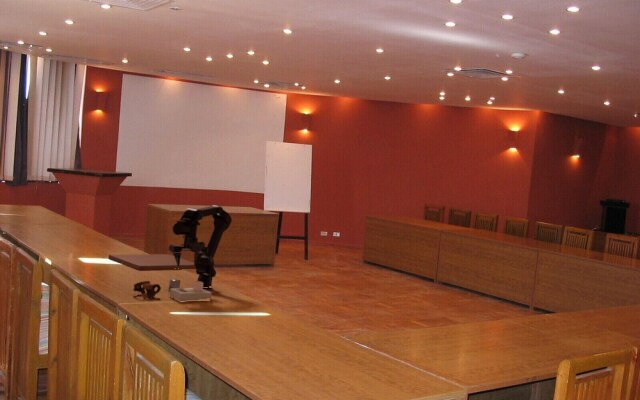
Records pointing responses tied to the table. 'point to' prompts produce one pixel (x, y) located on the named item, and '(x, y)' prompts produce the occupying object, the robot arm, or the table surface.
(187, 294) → the socket block
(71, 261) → the table surface
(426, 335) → the table surface
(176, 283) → the round dowel
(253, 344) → the table surface
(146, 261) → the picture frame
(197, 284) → the square peg
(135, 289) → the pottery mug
